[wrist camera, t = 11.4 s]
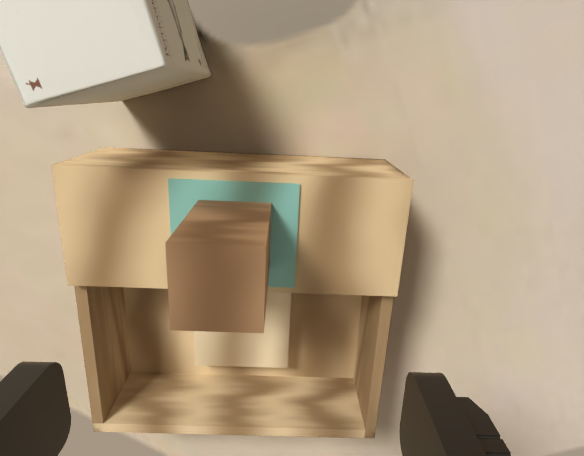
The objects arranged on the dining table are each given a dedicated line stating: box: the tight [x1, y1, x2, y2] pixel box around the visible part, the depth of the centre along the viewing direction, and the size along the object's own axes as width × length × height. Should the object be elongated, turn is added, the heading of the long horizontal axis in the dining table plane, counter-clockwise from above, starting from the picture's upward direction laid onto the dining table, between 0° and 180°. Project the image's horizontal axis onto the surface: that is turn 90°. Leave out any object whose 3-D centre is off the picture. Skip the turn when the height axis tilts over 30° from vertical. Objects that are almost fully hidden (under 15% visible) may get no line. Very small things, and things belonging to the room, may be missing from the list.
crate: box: [51, 147, 414, 438], centre depth 32 cm, size 22×21×8 cm
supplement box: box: [0, 0, 211, 108], centre depth 24 cm, size 7×7×13 cm
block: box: [165, 200, 271, 333], centre depth 23 cm, size 4×4×8 cm
